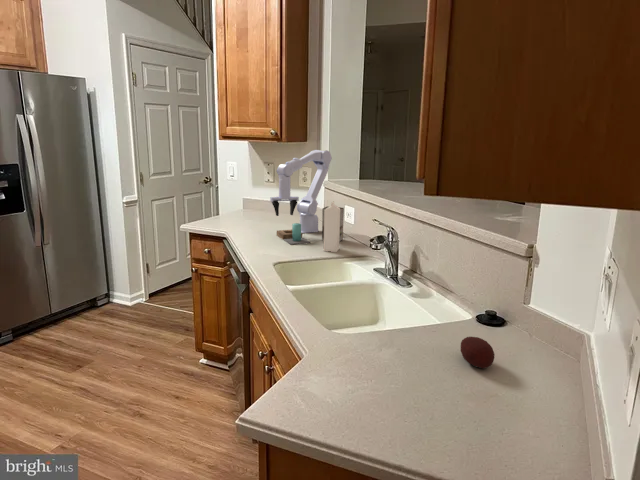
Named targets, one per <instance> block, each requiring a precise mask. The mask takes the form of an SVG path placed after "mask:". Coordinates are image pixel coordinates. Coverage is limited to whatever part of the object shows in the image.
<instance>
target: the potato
mask: <svg viewBox="0 0 640 480" xmlns="http://www.w3.org/2000/svg"><path fill="white" fill-rule="evenodd" d="M459 351H460V352H461V356H462V358H463V359H464V360H465V361H466V362H467V363H468V364H470V365H471V364H472V366H473V365H474V366H473V367H475V366H477V367H476V368H478V367H481V368H480V369H487V368H489V367H491V365H492V364H493V363H494V361H495V352H494V350H493V347H492V346H491V344H489V343H488V341H487V340H485V339H483V338H482V337H481V338H480V337H478V336H477V337H476V336H467V337H464V338H463V339H462V340H461V341H460V350H459Z"/></svg>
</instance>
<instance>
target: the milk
mask: <svg viewBox="0 0 640 480" xmlns="http://www.w3.org/2000/svg"><path fill="white" fill-rule="evenodd" d="M339 234H340V208H339V207H338V206H337V205H336V204H335V201H332V202H331V203H330V206H328V208H326V209H325V210H324V240H323V252H328V251H331V253H337V252H338V251H339V249H340V241H339Z"/></svg>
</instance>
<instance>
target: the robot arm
mask: <svg viewBox="0 0 640 480" xmlns="http://www.w3.org/2000/svg"><path fill="white" fill-rule="evenodd" d="M332 160H333V159H332V154H331V152H330V151H329V150H320V149H313V150H311V151H310V152H308V153H306V154H305V155H304V156H302V157H301V158H298V157H293V158H292V160H288V161H286V162H284V163H281V164H279V165H278V166H277V169H276V174H277V175H278V176H277V177H278V196H273V197H272V196H271V197H270V199H269V201H270V202H271V204H272V206H273V208H274V212H275V216H276V217H278V216H279V215H280V213H279V208H280V202H289V208H290V209H289V214H290V215H291V216H294V212H295V208H296V211H297V212H298V214H299V223H300V224H301V233H302V234H307V233H318V232H319V217H318V215H317V214H316V213H317V211H318V210H317V208H318V205H319V202H318V201H317V197H318V195H319V193H320V190H321V189H322V187H323V183H324V181H325V179H326V176H327V174H328V172H329V167H330V164H331V162H332ZM309 162H313V164H314V166H315V167H316V172H315V175H314V177H313V179H312V180H311V184H310V186H309V189H308V191H307V193H306V194H305V196H303V197H302V198H301V199H300V197H299V196H291V177H292V176H293V174H294V173H295V172H297V171H299V170H300V169H302V168H303V165H305V164H308V163H309ZM298 201H299V202H298ZM290 215H289V216H290Z"/></svg>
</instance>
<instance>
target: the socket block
mask: <svg viewBox="0 0 640 480" xmlns="http://www.w3.org/2000/svg"><path fill="white" fill-rule="evenodd" d="M276 236H277V237H278V238H280V239H281V240H283V241H284V239H290V238H292V229H283V230H282V229H281V230H276ZM301 238H303V233H301Z"/></svg>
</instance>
